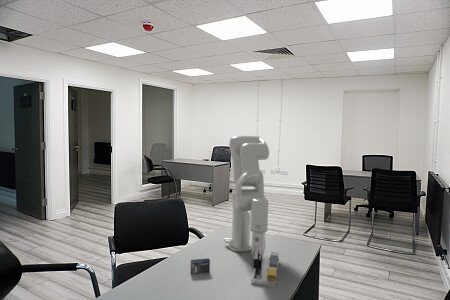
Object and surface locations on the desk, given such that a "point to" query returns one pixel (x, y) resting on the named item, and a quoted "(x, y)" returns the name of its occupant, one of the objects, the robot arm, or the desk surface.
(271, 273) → the amber rocker
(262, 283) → the panel
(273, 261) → the slate rocker
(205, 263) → the mini dv tape
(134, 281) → the desk surface
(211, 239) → the desk surface
